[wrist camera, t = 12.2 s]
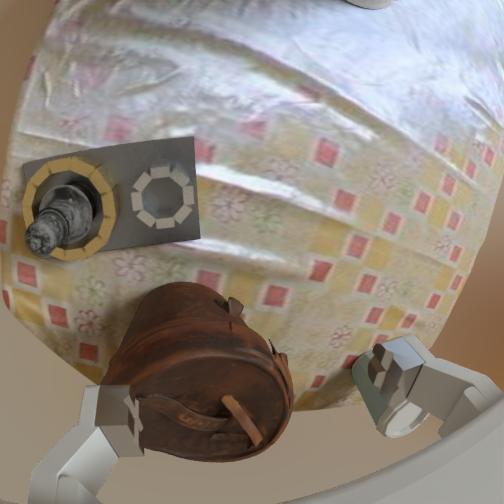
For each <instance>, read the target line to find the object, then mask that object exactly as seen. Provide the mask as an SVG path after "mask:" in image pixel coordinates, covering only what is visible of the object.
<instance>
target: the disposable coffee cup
mask: <svg viewBox="0 0 504 504" xmlns="http://www.w3.org/2000/svg"><path fill="white" fill-rule="evenodd" d="M372 351H373V350H370V351H368V352H365V353H364V354H362V355H361V356H360V357H359V358H357V360H356V361H355V363H354V364H353V366H352V377H353V379H354V381H355V383H356V385H357V387H358V389H359V391H360V393H361V395H362V397H363V399H364V402H365V404H366V406H367V408H368V410H369V412H370V414H371V416H372V418H373V420H374V422H375V424H376V426H377V428H376V429H377V430H378V431H379V432H380V433H381V434H382V435H383V436H387V437H388V438H396V437H401V436H403V435H405V434H408V433H409V432H412V431H413V430H414V429H415V428H416V427H418V426H419V425H420V424H421V423H422V422H423V421H424V420H425V419H426V418H427V417H428V416H429V414H430V413H428V412H427V411H425V410H423V409H421V408H420V407H418V406H416V405H414V404H413V403H411V402H409V401H408V400H407V399H404V400H402V401H399V402H397V403H394V404H391V405H387V403H386V402H385V401H384V399H383V398H382V396H381V395H380V393H379V391H380V388H379V387H377V386H375V385H373V383H372V382H371V380H370V378H369V376H368V364H369V361H370V360H371V359H372V357H373V356H374V354H373V352H372Z"/></svg>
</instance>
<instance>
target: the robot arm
mask: <svg viewBox="0 0 504 504" xmlns="http://www.w3.org/2000/svg"><path fill="white" fill-rule="evenodd" d="M347 1H349V2H351V3H353V4H355V5H358V6H361V7H365V8H369V9H382V8H386V7H389V6H391V5H392V4H393V3H395V2H396V1H397V0H347ZM372 352H373V354H374V356H373V357H372V359H371V360H370V361H369V364H368V376H369V378H370V380H371V382H372V383H373V385H375V386H377V387H379V388H380V391H379V393H380V395H381V396H382V398H383V399H384V401H385V402H386V403H387V405H391V404H394V403H397V402H399V401H402V400H404V399H407V400H408V401H409V402H411V403H413V404H414V405H416V406H418V407H420V408H421V409H423V410H425V411H427V412H428V413H430V414H432V415H434V416H436V417H437V418H439V419H441V420H442V421H444V423H443V424H442V426H441V427H440V429H439V431H438V434H439V435H440V436H441V438H442V439H441V440H439V441H437V442H435V443H433V444H432V445H430V446H428V447H426V448H424V449H422V450H420V451H418V452H417V453H415V454H413V455H411V456H409V457H407V458H405V459H402V460H400V461H399V462H396V463H394V464H392V465H390V466H387V467H385V468H383V469H381V470H379V471H376V472H374V473H371V474H369V475H367V476H364V477H361V478H359V479H356V480H354V481H351V482H349V483H346V484H343V485H340V486H337V487H334V488H331V489H328V490H325V491H322V492H319V493H315V494H312V495H309V496H305V497H302V498H298V499H294V500H290V501H286V502H283V503H279V504H504V393H503V392H502V391H501V390H500V389H499V388H498V387H497V386H496V385H495V384H494V383H493V382H492V381H491V380H490V378H488V376H486V375H483V374H480V373H478V372H475V371H472V370H469V369H467V368H464V367H462V366H459V365H456V364H453V363H451V362H448V361H446V360H443V359H440V358H437V359H436V358H435V357H434V356H433V355H432V354H431V353H430V352H429V351H428V350H427V349H426V348H425V347H424V346H423V345H422V343H421V342H420V341H419V340H418V339H417V338H416V337H415V336H414V335H412V334H410V333H409V334H406V335H403V336H400V337H396V338H393V339H390V340H386V341H383V342H380V343H377V344H376V345H375V346H374V348H373V351H372ZM143 428H144V426H143V414H142V409H141V406H140V403H139V401H138V400H136V399H135V390H134V388H133V386H132V385H88V386H86V387H85V389H84V393H83V398H82V404H81V410H80V415H79V421H78V426H73V427H72V428H71V429H70V430H69V431H68V433H67V434H66V435H65V436H64V437H63V438H62V439H61V440H60V441H59V442H58V443H57V444H56V446H55V447H54V448H53V449H52V450H51V451H50V452H49V453H48V454H47V455H46V456H45V457H44V458H43V459H42V461H41V462H40V463H39V464H38V465H37V466H36V467H35V468H34V469H33V470H32V474H31V481H30V488H29V495H28V504H103V503H101V502H100V501H99V500H98V499H97V498H96V495H97V494H98V492H99V490H100V489H101V487H102V486H103V484H104V482H105V481H106V479H107V477H108V476H109V474H110V473H111V471H112V469H113V468H114V466H115V465H116V463H117V461H118V460H119V457H138V456H144V439H143V437H142V435H141V431H142V429H143ZM0 504H17V503H13V502H9V501H5V500H2V499H0Z"/></svg>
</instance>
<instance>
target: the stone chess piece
mask: <svg viewBox="0 0 504 504" xmlns="http://www.w3.org/2000/svg"><path fill="white" fill-rule="evenodd" d="M96 213H97V199H96V196H95V194H94V192H93V191H92V190H91V188H90V187H89V186H87V185H86V184H84V183H82V182H78V181H71V182H67V183H65V184H64V185H59V186H55V187H53V188H52V189H50V190H49V191H48V192H47V193H46V194H45V195H44V197H43V199H42V200H41V203H40V207H39V213H38V214H37V215H36V217H35V221H34V222H32V223H31V224H30V225H29V226H28V228H27V230H26V232H25V242H26V245H27V247H28V249H29V250H30V251H31V252H32V253H33V254H34V255H36V256H40V257H44V256H47V255H49V254H51V253H52V252H53V250H54V249H55V248H56V247H60V246H62V245H63V244H70V243H75V242H77V241H79V240H81V239H82V238H83V237H84V236H85V235H86V234H87V233H88V231H89V229H90V227H91V224H92V221H93V220H94V218H95V216H96Z"/></svg>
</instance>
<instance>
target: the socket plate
mask: <svg viewBox="0 0 504 504" xmlns="http://www.w3.org/2000/svg"><path fill="white" fill-rule="evenodd" d="M23 167H24V175H25V182H26V191H25V195H24V198H23V202H22V211H23V216H24V221H25V225H26V230H27V228H28V226H29V225H30V224H31V223H32V222H34V221H35V217H36V215H37V214H38V213H39V207H40V203H41V200H42V199H43V197H44V195H45V194H46V193H47V192H48V191H49V190H50V189H52V188H53V187H55V186H59V185H64V184H65V183H67V182H71V181H78V182H82V183H84V184H86V185H87V186H89V187H90V188H91V190H92V191H93V192H94V194H95V196H96V199H97V213H96V216H95V218H94V220H93V221H92V224H91V227H90V229H89V231H88V233H87V234H86V235H85V236H84V237H83V238H82V239H81V240H79V241H77V242H75V243H70V244H63V245H62V246H60V247H56V248H55V249H54V250H53V252H52V253H51V254H49V255H47V256H44V257H41V259H42V258H50V257H56V258H58V259H61V260H63V261H64V260H65V261H71V260H79V259H87V258H89V257H90V256H92V255H93V254H94V253H95V252H97V251H104V250H112V249H120V248H128V247H136V246H144V245H153V244H161V243H170V242H179V241H187V240H196V239H201V238H200V226H199V213H198V199H197V185H196V169H195V150H194V136H191V137H180V138H169V139H160V140H151V141H142V142H135V143H127V144H120V145H114V146H107V147H101V148H95V149H89V150H84V151H78V152H73V153H68V154H63V155H58V156H53V157H49V158H44V159H40V160H36V161H31V162H27V163H24V164H23Z"/></svg>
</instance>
